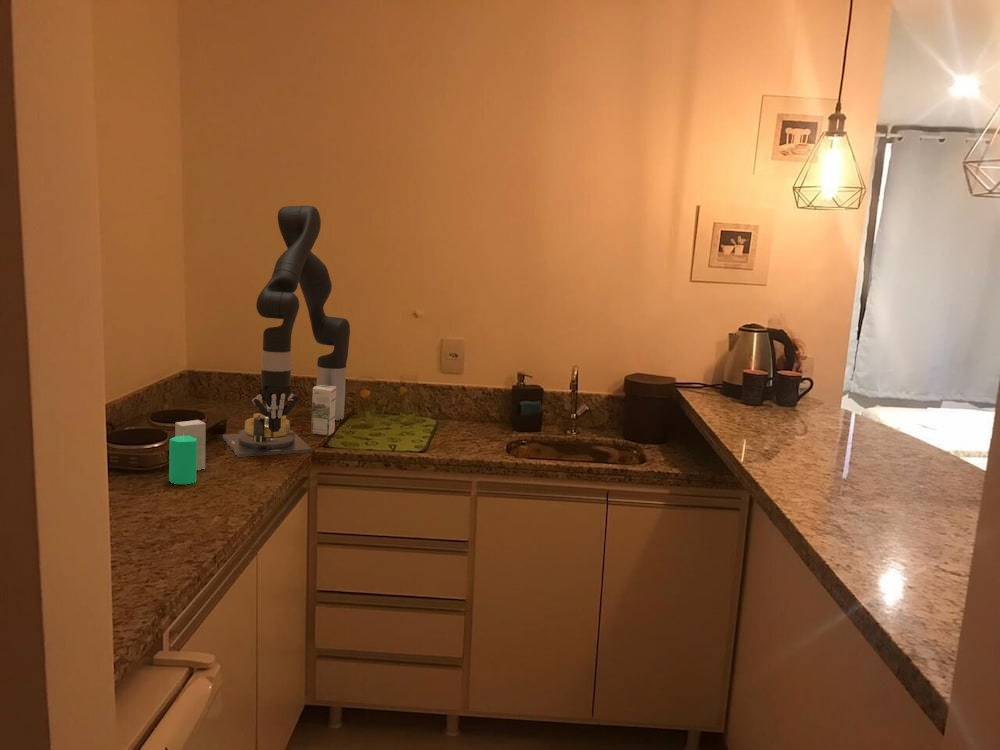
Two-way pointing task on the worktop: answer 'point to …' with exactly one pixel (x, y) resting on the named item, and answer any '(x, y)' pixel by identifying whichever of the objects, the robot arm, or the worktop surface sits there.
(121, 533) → the worktop surface
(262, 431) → the gold notched piece
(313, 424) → the syrup box
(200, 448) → the skincare box
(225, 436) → the bearing housing
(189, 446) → the candle
